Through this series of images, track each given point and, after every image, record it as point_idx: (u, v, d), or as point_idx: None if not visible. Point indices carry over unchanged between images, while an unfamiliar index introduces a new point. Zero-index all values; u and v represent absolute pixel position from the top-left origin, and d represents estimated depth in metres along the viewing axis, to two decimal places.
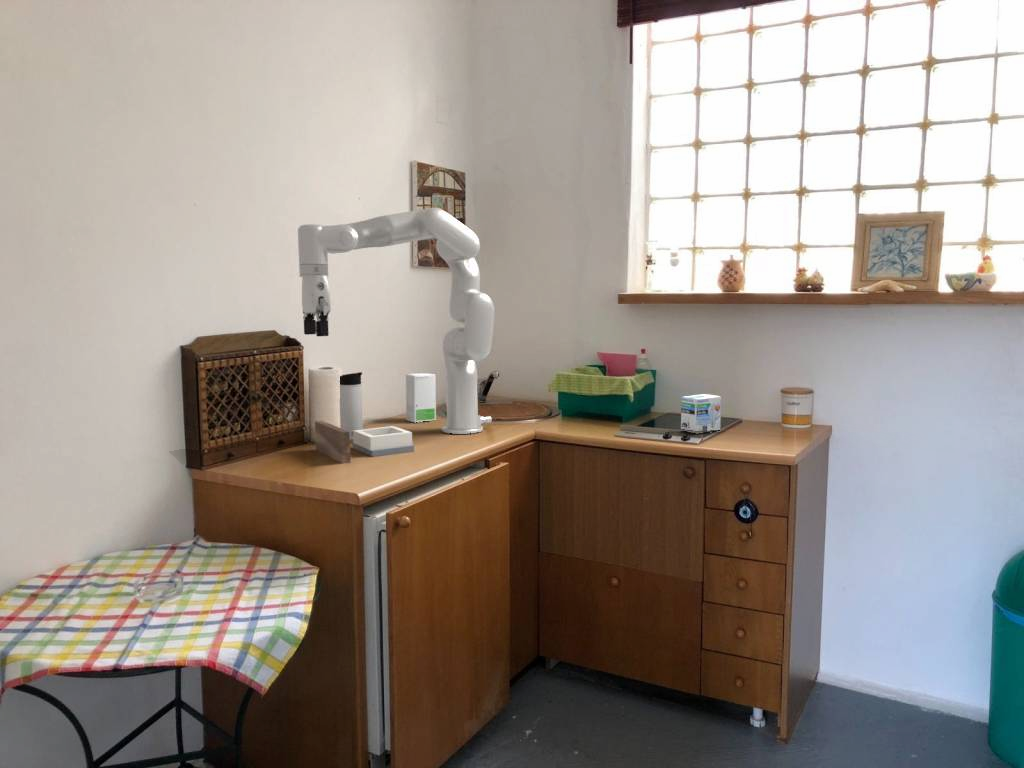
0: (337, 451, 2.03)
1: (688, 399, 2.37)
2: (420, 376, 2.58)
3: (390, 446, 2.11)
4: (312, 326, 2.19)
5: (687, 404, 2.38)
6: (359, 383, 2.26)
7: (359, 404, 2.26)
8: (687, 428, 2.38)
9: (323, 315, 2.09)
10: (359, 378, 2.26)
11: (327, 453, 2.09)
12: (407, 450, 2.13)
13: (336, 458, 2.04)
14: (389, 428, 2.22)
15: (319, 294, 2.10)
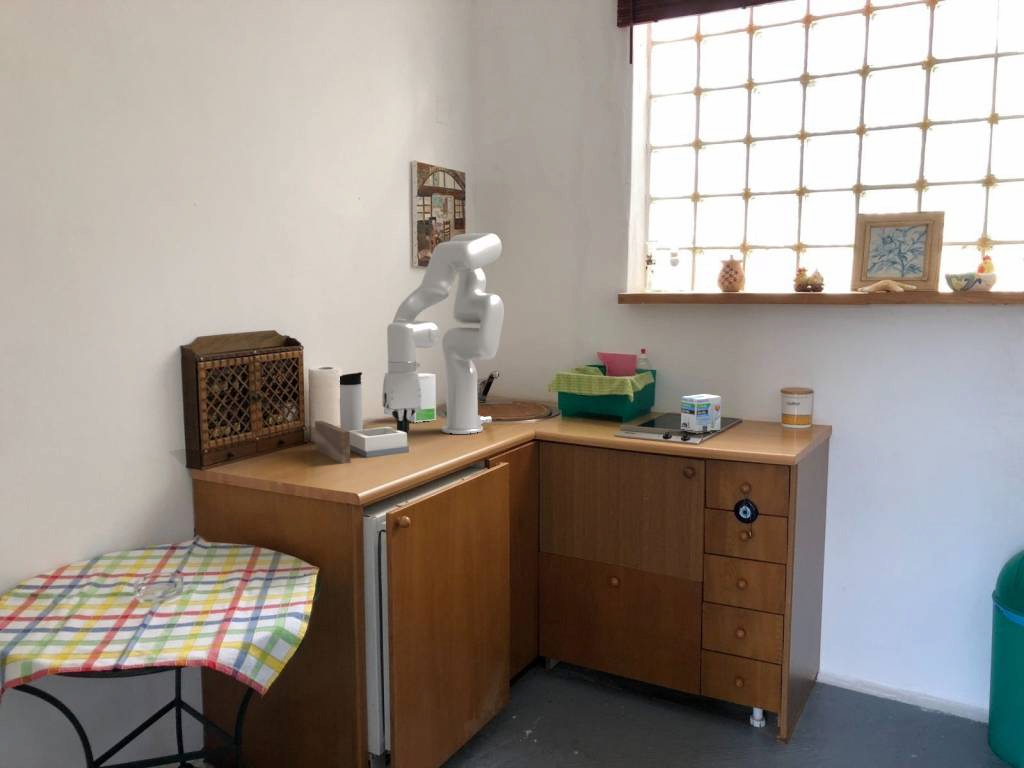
0: (337, 451, 2.03)
1: (688, 399, 2.37)
2: (420, 376, 2.58)
3: (385, 447, 2.10)
4: None
5: (687, 404, 2.38)
6: (359, 383, 2.26)
7: (359, 404, 2.26)
8: (687, 428, 2.38)
9: None
10: (359, 378, 2.26)
11: (327, 453, 2.09)
12: (402, 451, 2.12)
13: (336, 458, 2.04)
14: (384, 429, 2.21)
15: None
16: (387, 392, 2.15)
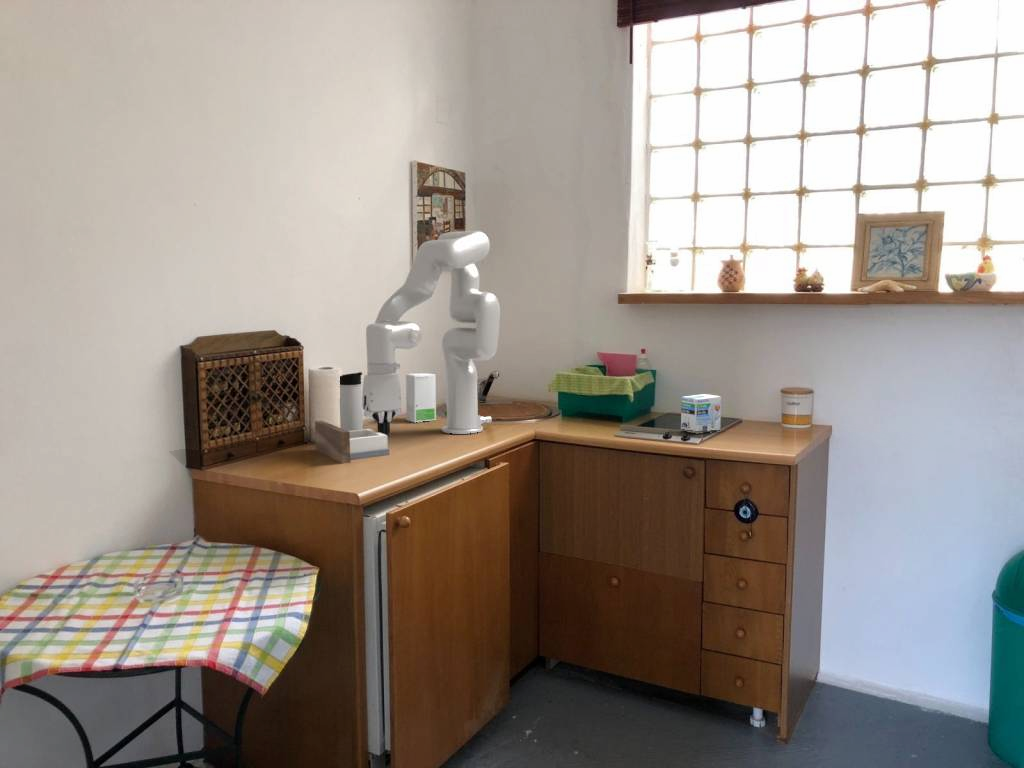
0: (337, 451, 2.03)
1: (688, 399, 2.37)
2: (420, 376, 2.58)
3: (365, 449, 2.07)
4: None
5: (687, 404, 2.38)
6: (359, 383, 2.26)
7: (359, 404, 2.26)
8: (687, 428, 2.38)
9: None
10: (359, 378, 2.26)
11: (327, 453, 2.09)
12: (382, 453, 2.09)
13: (336, 458, 2.04)
14: (365, 431, 2.18)
15: None
16: (367, 394, 2.11)
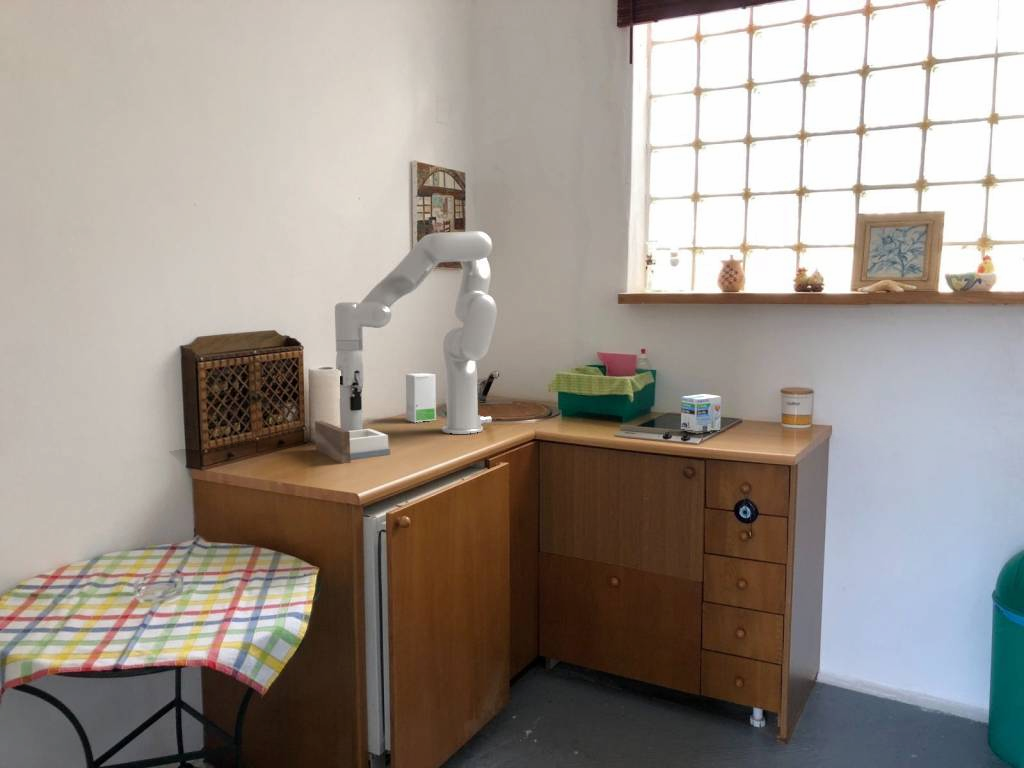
0: (337, 451, 2.03)
1: (688, 399, 2.37)
2: (420, 376, 2.58)
3: (365, 449, 2.08)
4: None
5: (687, 404, 2.38)
6: None
7: None
8: (687, 428, 2.38)
9: None
10: None
11: (327, 453, 2.09)
12: (383, 453, 2.09)
13: (336, 458, 2.04)
14: (365, 431, 2.18)
15: None
16: (360, 369, 2.23)
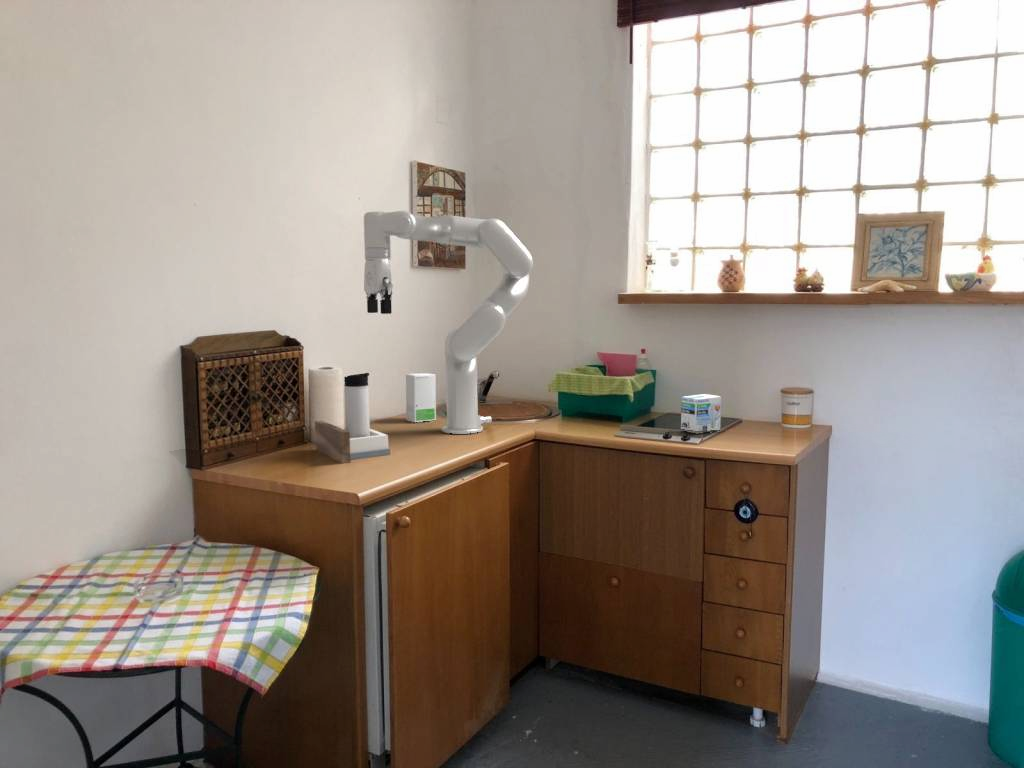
0: (337, 451, 2.03)
1: (688, 399, 2.37)
2: (420, 376, 2.58)
3: (365, 449, 2.08)
4: None
5: (687, 404, 2.38)
6: (366, 384, 2.09)
7: (366, 407, 2.10)
8: (687, 428, 2.38)
9: None
10: (366, 379, 2.09)
11: (327, 453, 2.09)
12: (383, 453, 2.09)
13: (336, 458, 2.04)
14: None
15: None
16: (388, 276, 2.31)
